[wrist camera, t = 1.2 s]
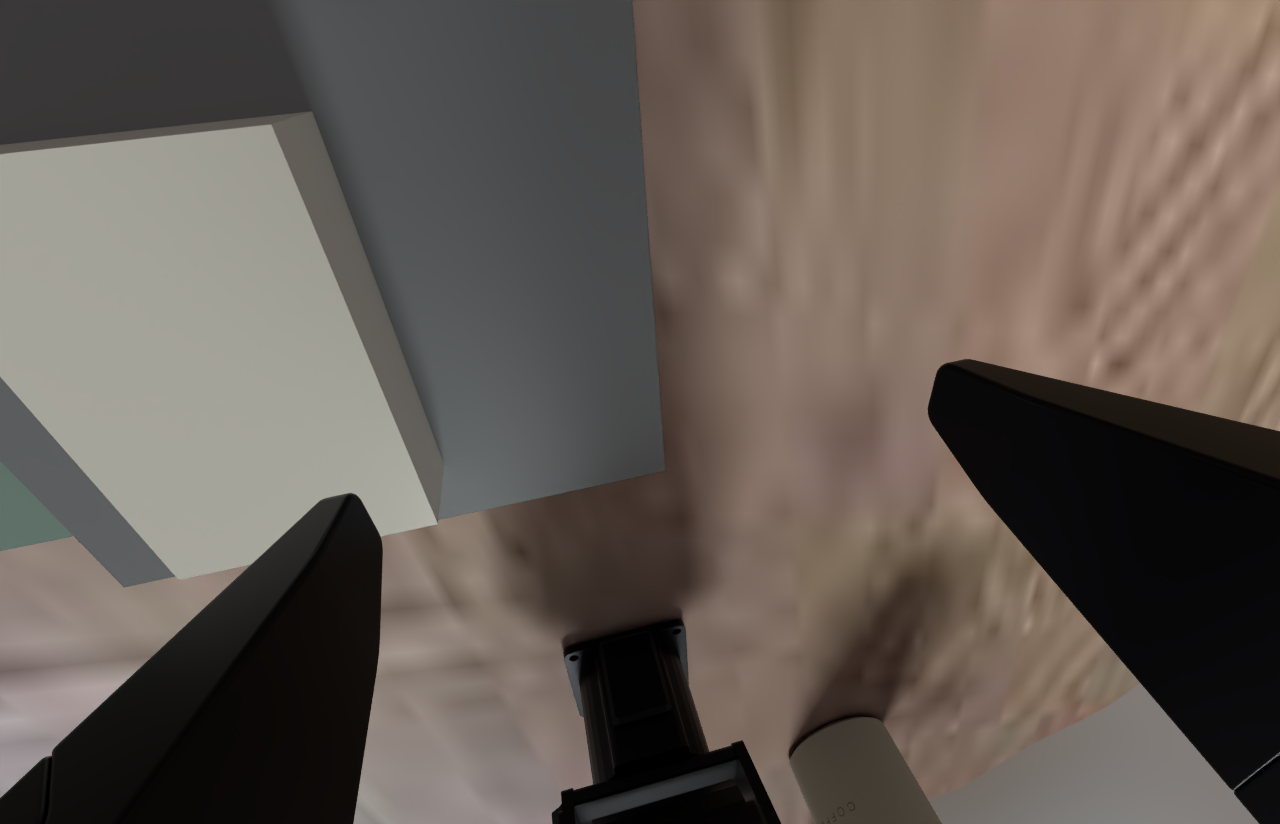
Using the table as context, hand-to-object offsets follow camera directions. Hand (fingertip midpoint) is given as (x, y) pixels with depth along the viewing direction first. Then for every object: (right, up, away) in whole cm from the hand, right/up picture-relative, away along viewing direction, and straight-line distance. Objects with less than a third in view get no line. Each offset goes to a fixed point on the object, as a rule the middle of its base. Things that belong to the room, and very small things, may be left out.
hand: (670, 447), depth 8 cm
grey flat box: (-9, +5, +8) cm, 13 cm away
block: (-9, +2, +5) cm, 11 cm away
